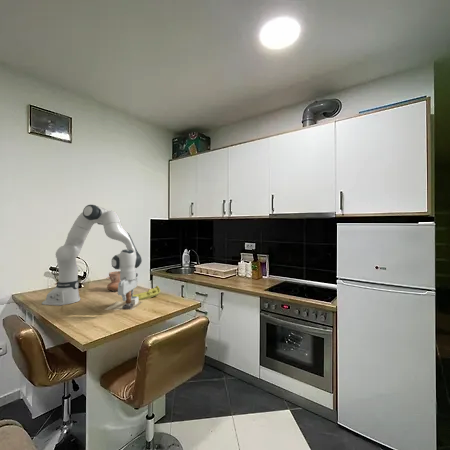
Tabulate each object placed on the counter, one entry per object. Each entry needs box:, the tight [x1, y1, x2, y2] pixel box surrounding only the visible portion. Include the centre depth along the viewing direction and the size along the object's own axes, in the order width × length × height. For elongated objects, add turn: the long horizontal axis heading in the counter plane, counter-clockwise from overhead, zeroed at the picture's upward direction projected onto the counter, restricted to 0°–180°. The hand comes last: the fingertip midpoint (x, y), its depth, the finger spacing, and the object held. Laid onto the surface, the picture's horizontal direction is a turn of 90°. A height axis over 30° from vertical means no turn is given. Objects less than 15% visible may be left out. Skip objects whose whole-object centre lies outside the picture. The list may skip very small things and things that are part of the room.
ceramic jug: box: [106, 270, 121, 292], centre depth 200 cm, size 18×14×14 cm
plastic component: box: [133, 285, 161, 301], centre depth 176 cm, size 20×7×10 cm
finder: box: [130, 296, 140, 305], centre depth 161 cm, size 6×5×4 cm
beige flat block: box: [103, 301, 143, 311], centre depth 157 cm, size 18×16×3 cm
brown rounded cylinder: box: [124, 291, 131, 306], centre depth 153 cm, size 3×3×10 cm
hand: (127, 298), depth 153 cm, fingers open, 8 cm apart
